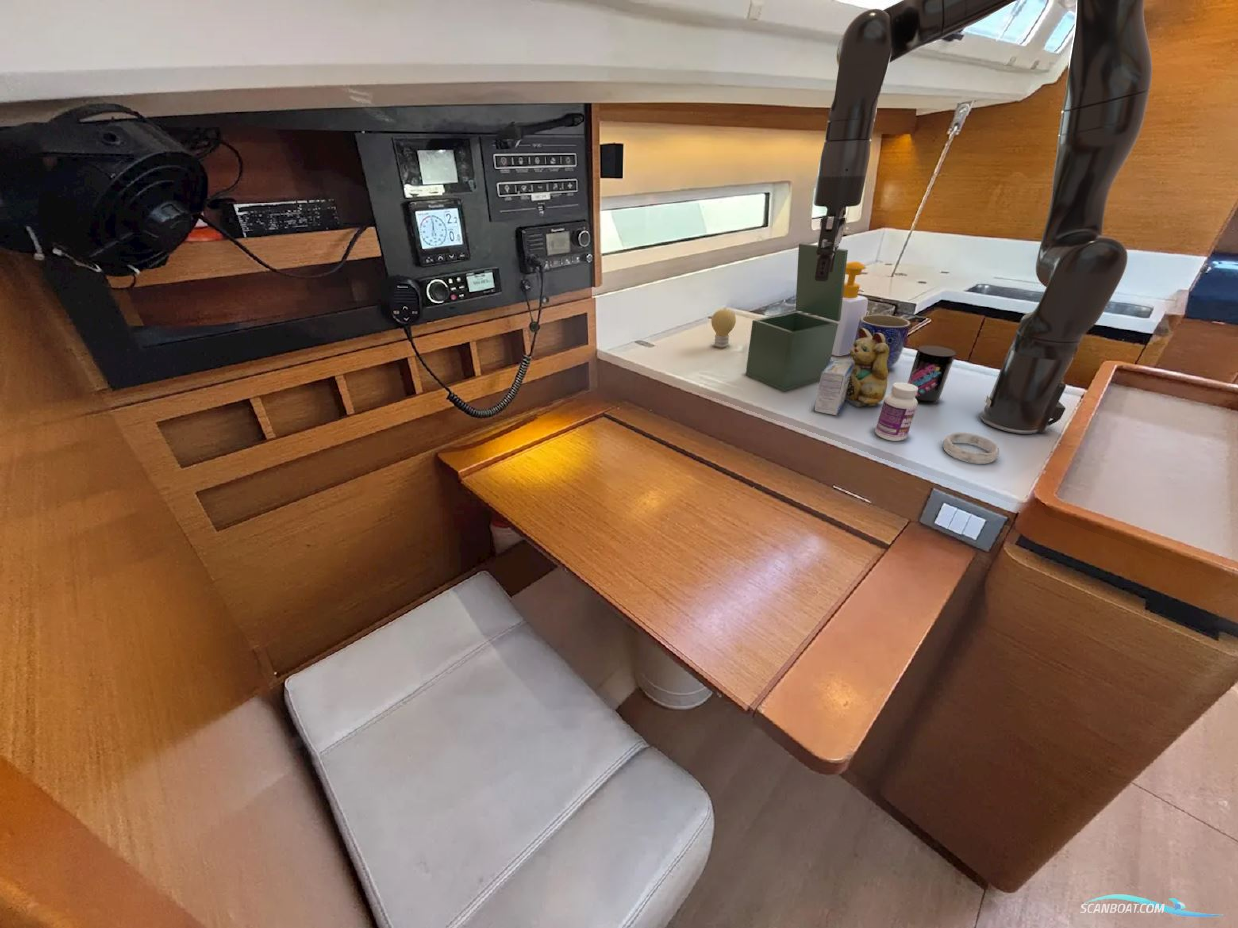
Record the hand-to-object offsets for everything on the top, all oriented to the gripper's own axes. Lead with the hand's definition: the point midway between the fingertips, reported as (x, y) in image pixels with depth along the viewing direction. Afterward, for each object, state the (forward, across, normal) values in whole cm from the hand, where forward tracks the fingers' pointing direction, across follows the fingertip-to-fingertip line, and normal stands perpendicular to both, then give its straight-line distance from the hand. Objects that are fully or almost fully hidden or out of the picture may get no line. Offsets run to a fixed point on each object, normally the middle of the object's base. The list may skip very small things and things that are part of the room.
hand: (823, 276), depth 91 cm
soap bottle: (+26, +40, -2) cm, 48 cm away
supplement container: (+26, +14, -23) cm, 37 cm away
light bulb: (+25, +30, +25) cm, 47 cm away
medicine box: (+26, +1, -5) cm, 26 cm away
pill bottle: (+26, -7, -17) cm, 32 cm away
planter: (+26, +30, -13) cm, 42 cm away
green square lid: (+5, +19, +2) cm, 20 cm away
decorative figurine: (+26, +7, -11) cm, 29 cm away
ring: (+26, -9, -29) cm, 40 cm away
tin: (+26, +14, +6) cm, 30 cm away
